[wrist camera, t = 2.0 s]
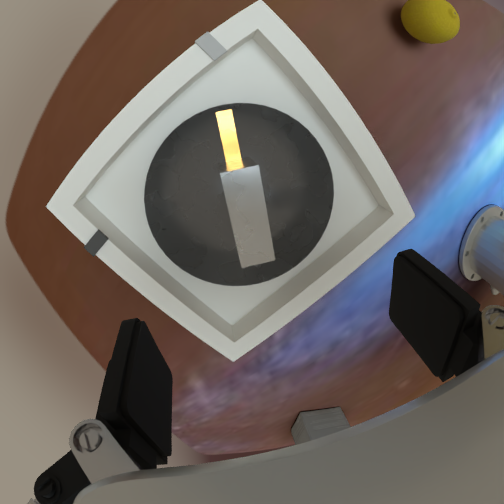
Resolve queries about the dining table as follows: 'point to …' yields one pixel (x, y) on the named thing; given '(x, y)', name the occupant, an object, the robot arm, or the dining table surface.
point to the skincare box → (318, 424)
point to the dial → (238, 194)
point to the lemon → (430, 20)
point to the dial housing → (197, 100)
